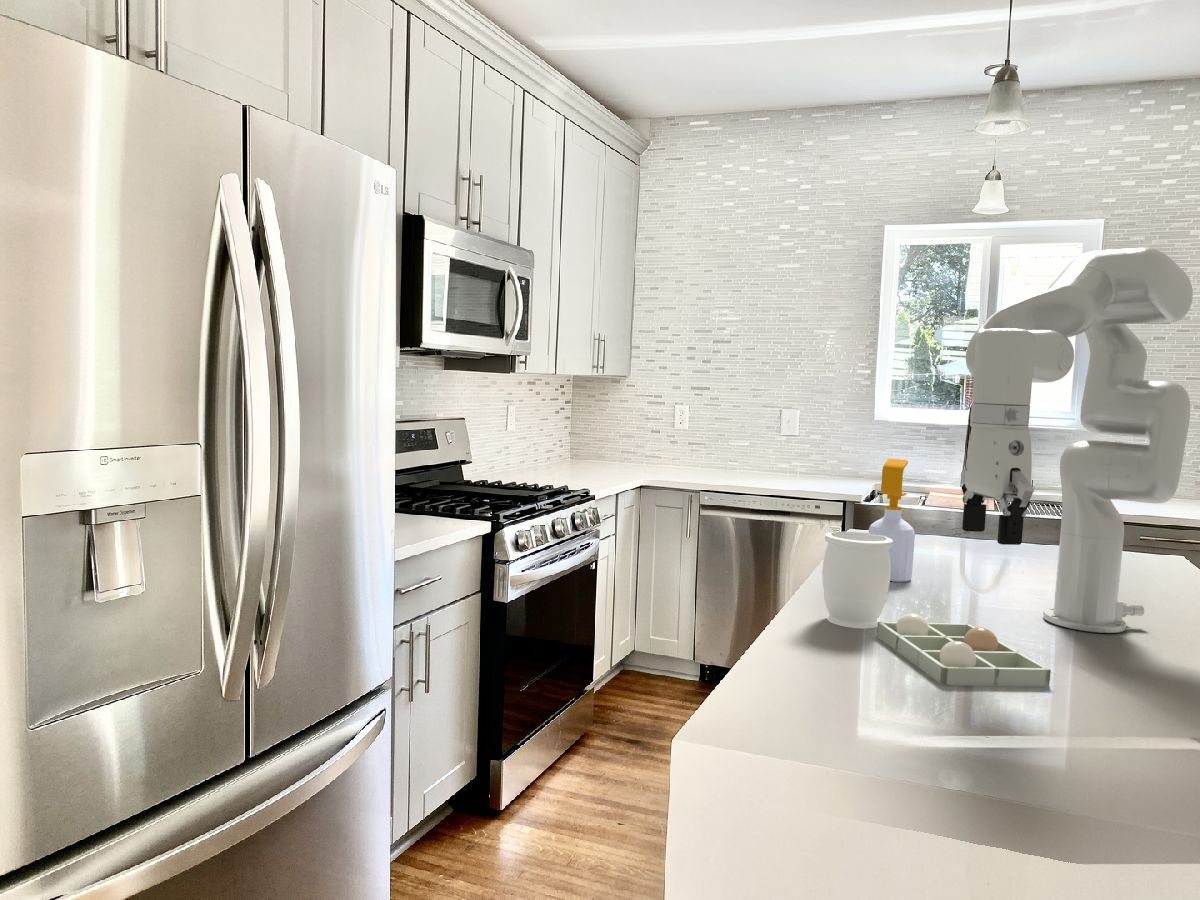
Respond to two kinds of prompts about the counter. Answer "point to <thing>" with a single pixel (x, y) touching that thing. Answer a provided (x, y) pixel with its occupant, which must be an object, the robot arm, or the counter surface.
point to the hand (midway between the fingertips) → (990, 537)
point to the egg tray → (988, 670)
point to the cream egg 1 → (912, 625)
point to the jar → (856, 577)
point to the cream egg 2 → (957, 655)
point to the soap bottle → (895, 522)
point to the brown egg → (981, 639)
